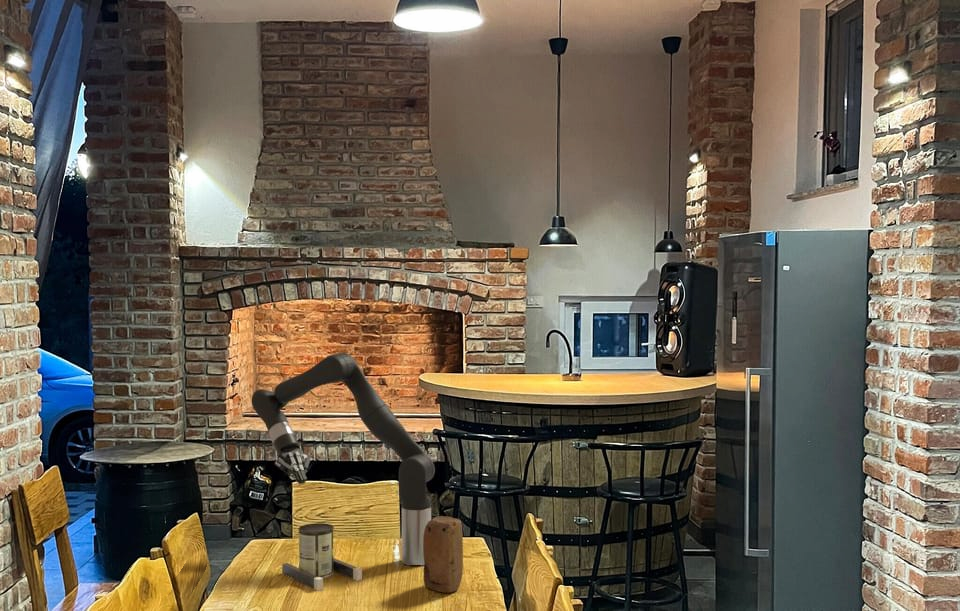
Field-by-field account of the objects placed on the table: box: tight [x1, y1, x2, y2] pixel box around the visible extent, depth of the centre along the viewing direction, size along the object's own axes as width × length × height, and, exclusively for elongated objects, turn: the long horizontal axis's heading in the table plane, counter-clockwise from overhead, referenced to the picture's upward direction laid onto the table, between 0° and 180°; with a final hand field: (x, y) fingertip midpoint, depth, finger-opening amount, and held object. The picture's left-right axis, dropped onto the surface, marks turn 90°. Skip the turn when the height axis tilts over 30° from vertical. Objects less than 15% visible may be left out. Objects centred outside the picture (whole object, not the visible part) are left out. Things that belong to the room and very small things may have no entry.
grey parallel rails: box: [281, 557, 363, 592], centre depth 259 cm, size 15×20×3 cm
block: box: [423, 515, 464, 594], centre depth 248 cm, size 11×8×20 cm
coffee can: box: [298, 522, 335, 580], centre depth 261 cm, size 10×10×14 cm
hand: (303, 482), depth 278 cm, fingers closed
